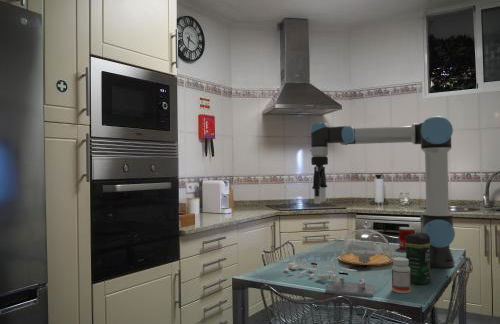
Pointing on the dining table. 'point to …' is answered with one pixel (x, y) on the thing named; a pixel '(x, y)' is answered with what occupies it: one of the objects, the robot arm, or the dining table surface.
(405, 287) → the pill bottle
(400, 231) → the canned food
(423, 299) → the dining table surface
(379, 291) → the dining table surface
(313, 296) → the dining table surface
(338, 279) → the grey knobbed plate
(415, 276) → the coffee jar
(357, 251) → the showerhead
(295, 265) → the miniature set
